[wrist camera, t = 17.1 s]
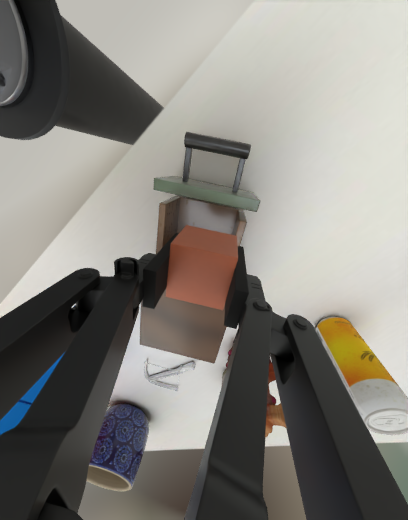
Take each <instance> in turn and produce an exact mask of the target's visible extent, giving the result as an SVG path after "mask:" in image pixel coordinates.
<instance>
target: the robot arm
mask: <svg viewBox="0 0 408 520" xmlns="http://www.w3.org/2000/svg"><path fill="white" fill-rule="evenodd" d="M33 71H34V55H33V47H32V41H31V36H30V32H29V28H28V25H27V22H26V19H25V16H24V13H23V11H22V8H21V6H20V4H19V2H18V0H0V108H7V107H12V106H15V105H17V104H18V103H20V102H21V101H22V100H23V99H24V98H25V96H26V95H27V93H28V91H29V89H30V86H31V83H32V79H33ZM178 234H179V233H175V234H174V235H173V237H172V238H171V239H170V240H169V241H168V242H167V243H166V244H165V245H164V247H163V248H162V249H161V250H160V251H159V252H158V253H157V254H151V253H148V254H146V255H143V256H142V257H141V258H140V259H139V260H137V259H135V258H131V257H124V258H119V259H117V260H115V261H114V267H115V275H114V277H103V276H100V274H99V271H98V270H96V269H92V268H83V269H80V270H77V271H75V272H73V273H71V274H70V275H68V276H67V277H65V278H63V279H62V280H60V281H59V282H57V283H55V284H54V285H52V286H51V287H49V288H47V289H46V290H44V291H43V292H41V293H39V294H38V295H36V296H35V297H33V298H31V299H30V300H28V301H27V302H25V303H23V304H22V305H20V306H19V307H17V308H15V309H14V310H12V311H11V312H9V313H7V314H6V315H4V316H3V317H1V318H0V420H1V419H2V418H3V417H4V416H5V415H6V414H7V413H8V412H9V411H10V410H11V408H12V407H13V406H14V405H15V404H16V403H17V402H18V401H19V400H20V399H21V398H22V397H23V396H24V395H25V394H26V393H27V392H28V390H29V389H30V388H31V387H32V386H33V385H34V384H35V383H36V382H37V381H38V380H39V379H40V378H41V377H42V376H43V375H44V374H45V373H46V371H47V370H48V369H49V368H50V367H51V366H52V365H53V364H54V363H55V362H56V361H57V360H58V359H59V358H60V357H61V356H62V355H63V353H64V352H65V353H64V355H63V356H62V358H61V359H60V361H59V362H58V364H57V366H56V367H55V369H54V370H53V372H52V373H51V375H50V376H49V378H48V380H47V381H46V383H45V384H44V386H43V387H42V389H41V391H40V392H39V394H38V395H37V397H36V398H35V400H34V401H33V403H32V405H31V406H30V408H29V409H28V411H27V412H26V414H25V416H24V417H23V418H22V420H21V421H20V422H19V424H18V425H17V426H15V427H14V428H13V429H10V430H8V431H6V432H4V433H2V434H1V435H0V520H83V519H82V518H81V517H80V516H79V515H78V514H77V513H78V509H79V506H80V503H81V500H82V496H83V492H84V489H85V485H86V480H87V474H88V467H89V463H90V459H91V456H92V453H93V450H94V447H95V444H96V441H97V438H98V435H99V431H100V428H101V425H102V422H103V419H104V416H105V413H106V410H107V407H108V404H109V401H110V398H111V395H112V392H113V388H114V385H115V382H116V379H117V376H118V373H119V370H120V367H121V364H122V361H123V358H124V355H125V352H126V349H127V345H128V342H129V339H130V336H131V333H132V330H133V327H134V324H135V321H136V318H137V315H138V312H139V304H140V303H141V301H142V307H146V308H151V309H155V307H156V305H157V303H158V302H159V300H160V298H161V296H162V294H163V293H164V291H165V289H166V287H167V277H168V267H169V257H170V245H171V242H172V241H173V240H174V239H175V238H176V237H177V235H178ZM75 303H76V306H74V307H73V308H71V307H72V306H73V305H74V304H75ZM238 323H239V329H238V331H237V334H236V337H235V340H234V342H233V343H234V345H233V348H232V352H231V356H230V359H229V363H228V366H227V370H226V374H225V377H224V381H223V385H222V388H221V392H220V395H219V399H218V403H217V406H216V410H215V413H214V417H213V421H212V424H211V428H210V431H209V435H208V439H207V442H206V446H205V449H204V453H203V457H202V460H201V464H200V467H199V472H198V475H197V478H196V482H195V485H194V489H193V492H192V496H191V499H190V502H189V505H188V508H187V511H186V515H185V518H184V520H268V512H267V507H266V504H265V501H264V498H263V492H262V491H263V485H262V484H263V467H264V449H265V432H266V414H267V396H268V378H269V360H270V355H271V360H272V364H273V369H274V373H275V378H276V382H277V387H278V392H279V396H280V401H281V405H282V410H283V414H284V419H285V424H286V428H287V433H288V437H289V442H290V446H291V451H292V455H293V460H294V465H295V469H296V474H297V478H298V483H299V487H300V492H301V497H302V501H303V505H304V510H305V514H306V519H307V520H408V504H407V502H406V500H405V498H404V496H403V495H402V493H401V491H400V489H399V487H398V485H397V483H396V481H395V479H394V478H393V476H392V474H391V472H390V470H389V468H388V466H387V464H386V462H385V461H384V459H383V457H382V455H381V453H380V451H379V449H378V447H377V446H376V444H375V442H374V440H373V438H372V436H371V434H370V432H369V430H368V429H367V427H366V425H365V423H364V421H363V419H362V417H361V415H360V413H359V412H358V410H357V408H356V406H355V404H354V402H353V400H352V398H351V397H350V395H349V393H348V391H347V389H346V387H345V385H344V383H343V381H342V380H341V378H340V376H339V374H338V372H337V370H336V368H335V366H334V365H333V363H332V361H331V359H330V357H329V355H328V353H327V351H326V349H325V348H324V346H323V344H322V342H321V340H320V338H319V336H318V334H317V332H316V331H315V329H314V327H313V325H312V324H311V323H310V322H309V321H308V320H307V319H305V318H303V317H301V316H299V315H294V314H291V315H289V316H288V317H287V319H286V318H284V317H281V316H279V315H277V314H275V313H274V312H272V307H271V306H270V305H269V304H268V303H267V302H266V301H265V298H264V293H263V290H262V285H261V281H260V280H259V279H258V277H257V276H252V275H248V274H247V273H246V265H245V257H244V250H243V247H240V246H238V261H237V264H236V268H235V270H234V273H233V277H232V280H231V284H230V287H229V290H228V294H227V297H226V301H225V317H224V326H226V327H231V328H235V329H236V328H237V325H238Z"/></svg>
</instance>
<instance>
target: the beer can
mask: <svg viewBox="0 0 408 520" xmlns="http://www.w3.org/2000/svg"><path fill="white" fill-rule="evenodd" d="M315 331H316V332H317V334H318V336H319V338H320V340H321V342H322V344H323V346H324V348H325V349H326V351H327V353H328V355H329V357H330V359H331V361H332V363H333V365H334V366H335V368H336V370H337V372H338V374H339V376H340V378H341V380H342V381H343V383H344V385H345V387H346V389H347V391H348V393H349V395H350V397H351V398H352V400H353V402H354V404H355V406H356V408H357V410H358V412H359V413H360V415H361V417H362V419H363V421H364V423H365V425H366V427H367V428H368V429H369V430H371V431H373V432H375V433H379V434H384V435H400V434H405V433H408V397H407V396H406V395H405V394H404V392H403V391H402V390H401V388H400V387H399V386H398V384H397V383H396V382H395V380H394V379H393V378H392V377H391V375H390V374H389V373H388V371H387V370H386V369H385V367H384V366H383V365H382V363H381V362H380V361H379V360H378V358H377V357H376V356H375V354H374V353H373V352H372V350H371V349H370V348H369V346H368V345H367V344H366V343H365V341H364V340H363V339H362V337H361V336H360V335H359V333H358V332H357V331H356V329H355V328H354V327H353V326H352V324H351V323H350V322H349V321H348V320H346V319H344V318H340V317H335V316H332V317H327V318H324V319H322V320H321V321H320V322H319V323H318V325H317V327H316V330H315Z"/></svg>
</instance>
